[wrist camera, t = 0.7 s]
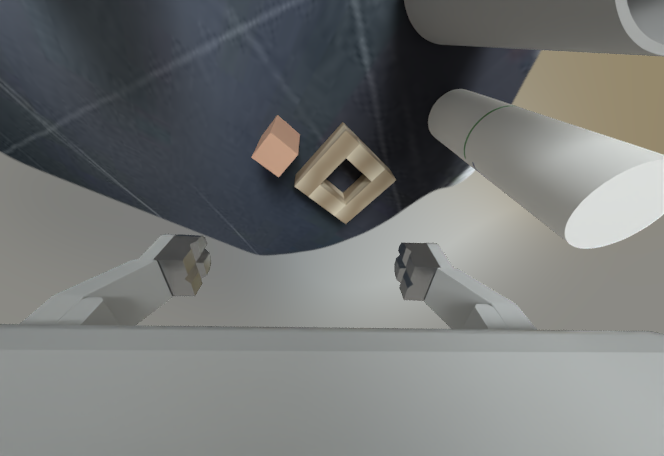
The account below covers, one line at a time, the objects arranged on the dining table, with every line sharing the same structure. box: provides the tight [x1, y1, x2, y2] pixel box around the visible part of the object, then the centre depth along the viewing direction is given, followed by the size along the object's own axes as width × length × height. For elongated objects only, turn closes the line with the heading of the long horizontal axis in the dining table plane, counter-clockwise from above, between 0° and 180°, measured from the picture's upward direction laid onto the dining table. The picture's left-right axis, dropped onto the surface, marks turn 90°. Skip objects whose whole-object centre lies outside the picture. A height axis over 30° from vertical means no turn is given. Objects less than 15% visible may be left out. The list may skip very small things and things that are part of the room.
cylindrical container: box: [428, 89, 664, 249], centre depth 26 cm, size 7×7×25 cm
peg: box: [251, 115, 300, 177], centre depth 33 cm, size 4×4×8 cm
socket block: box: [294, 122, 396, 224], centre depth 39 cm, size 11×11×4 cm
